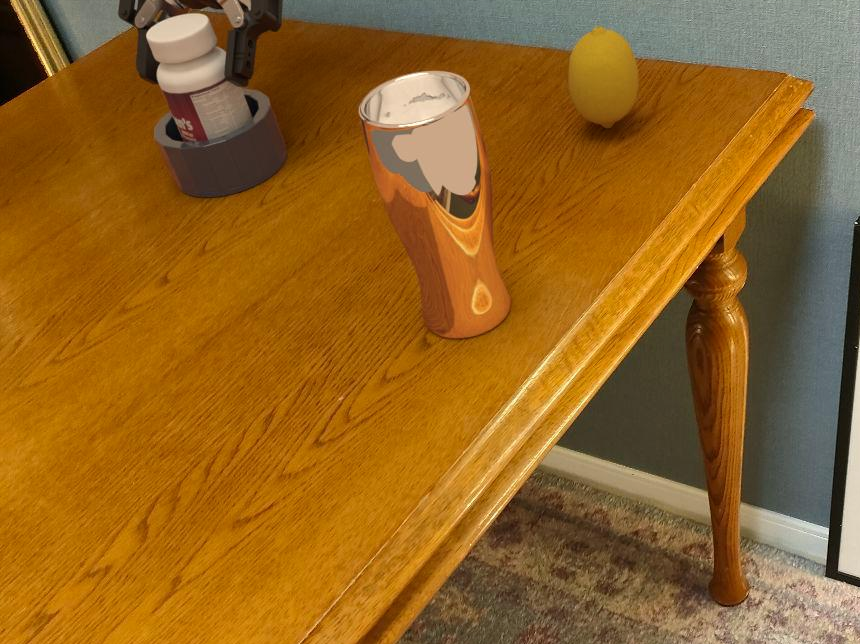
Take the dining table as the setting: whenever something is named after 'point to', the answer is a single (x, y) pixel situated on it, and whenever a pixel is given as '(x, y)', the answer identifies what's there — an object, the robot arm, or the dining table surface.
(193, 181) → the holder
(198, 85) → the pill bottle
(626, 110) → the lemon
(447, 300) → the beer glass
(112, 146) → the dining table surface
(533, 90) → the dining table surface
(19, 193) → the dining table surface
